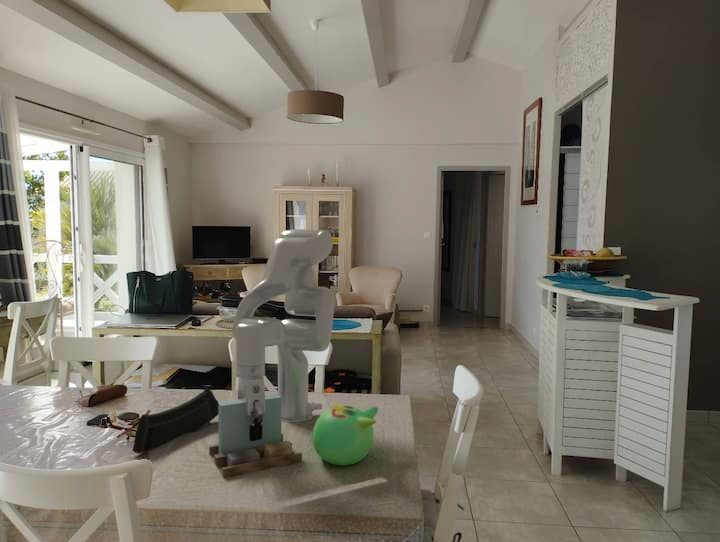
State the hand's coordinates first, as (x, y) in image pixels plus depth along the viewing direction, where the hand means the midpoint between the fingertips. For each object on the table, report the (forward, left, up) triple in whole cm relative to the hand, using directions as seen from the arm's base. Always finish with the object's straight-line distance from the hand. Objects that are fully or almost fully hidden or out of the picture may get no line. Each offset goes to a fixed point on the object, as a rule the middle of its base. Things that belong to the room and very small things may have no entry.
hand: (250, 433), depth 139 cm
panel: (0, 0, -5) cm, 5 cm away
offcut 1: (+4, +7, -5) cm, 10 cm away
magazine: (+14, -21, -6) cm, 26 cm away
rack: (0, +4, -6) cm, 7 cm away
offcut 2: (-5, +7, -5) cm, 10 cm away
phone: (+30, -41, -7) cm, 51 cm away
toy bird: (-21, +14, -6) cm, 26 cm away
